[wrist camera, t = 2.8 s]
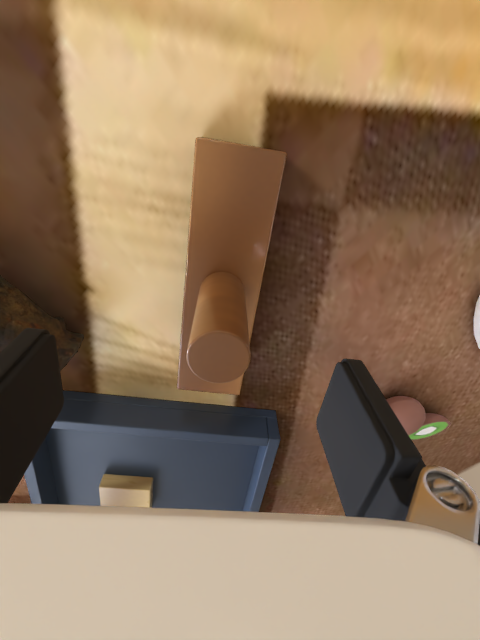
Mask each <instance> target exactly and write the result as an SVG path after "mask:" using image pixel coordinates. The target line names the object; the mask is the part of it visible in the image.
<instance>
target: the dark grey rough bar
mask: <svg viewBox="0 0 480 640" xmlns="http://www.w3.org/2000/svg"><path fill="white" fill-rule="evenodd" d="M26 328H35V329H46V330H48V331H49V333H50V335H54V336H55V339H56V346H57V353H58V360H59V367H60V371H61V370H62V369H63V368H64V367H65V366H66V365H67V363H68V362H69V361H70V359H71V358H72V357H73V356H74V355H75V353H77V352H78V349H79V348H80V346H81V344H82V341H83V339H84V335H83V334H79V333H74V332H70V331H68V330H66V325H65V322H64V320H63V318H61V317H54V318H53V317H52V316H50V315H49V314H47V313H46V312H45V311H43V310H42V309H41V308H40V307H38V306H37V305H36V304H35V303H34V302H33V301H32V300H31V299H29V298H28V297H27V296H26V295H25V294H24V293H22V292H21V291H19V290H18V289H17V288H15V287H14V286H12V285H11V284H10V283H9V282H8V281H6V280H5V279H4V278H3V277H2V276H1V275H0V353H1V352H2V351H3V350H4V349H5V348H6V347H7V346H8V345H9V344H10V343H11V342H12V341H13V340H14V339H15V338H16V337H17V336H18V335H19V334H20V333H21V332H22V331H23V330H24V329H26Z"/></svg>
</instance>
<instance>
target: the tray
mask: <svg viewBox="0 0 480 640" xmlns="http://www.w3.org/2000/svg"><path fill="white" fill-rule="evenodd" d="M63 396H64V404H63V407H62V410H61V412H60V414H59V415H58V417H57V419H56V420H55V422H54V424H53V426H52V427H51V429H50V431H49V432H48V434H47V436H46V438H45V439H44V441H43V443H42V444H41V446H40V448H39V450H38V451H37V453H36V455H35V456H34V458H33V460H32V462H31V463H30V465H29V467H28V468H27V470H26V472H25V474H24V475H25V479H26V483H27V487H28V491H29V495H30V499H31V503H32V504H59V505H88V506H101V505H100V493H99V485H100V483H101V480H102V477H103V475H104V474H112V475H126V476H140V477H152V478H153V498H152V508H172V509H197V510H222V511H247V512H259V509H260V506H261V503H262V499H263V496H264V493H265V489H266V486H267V483H268V479H269V476H270V473H271V469H272V466H273V463H274V459H275V456H276V453H277V449H278V446H279V443H280V435H279V429H278V423H277V416H276V411H274V410H264V409H253V408H243V407H232V406H222V405H211V404H201V403H190V402H179V401H169V400H158V399H148V398H137V397H127V396H116V395H106V394H95V393H84V392H74V391H63Z"/></svg>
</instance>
